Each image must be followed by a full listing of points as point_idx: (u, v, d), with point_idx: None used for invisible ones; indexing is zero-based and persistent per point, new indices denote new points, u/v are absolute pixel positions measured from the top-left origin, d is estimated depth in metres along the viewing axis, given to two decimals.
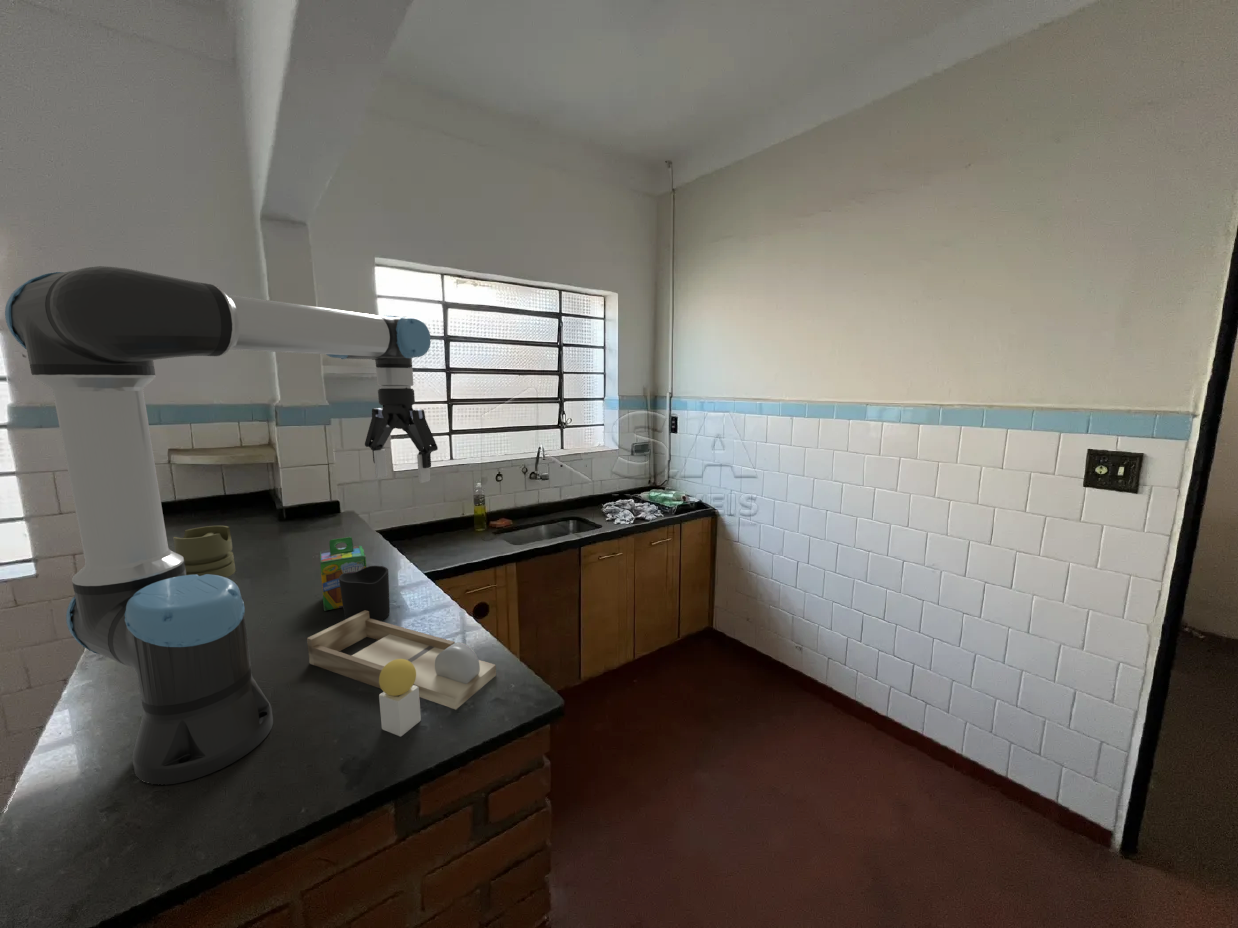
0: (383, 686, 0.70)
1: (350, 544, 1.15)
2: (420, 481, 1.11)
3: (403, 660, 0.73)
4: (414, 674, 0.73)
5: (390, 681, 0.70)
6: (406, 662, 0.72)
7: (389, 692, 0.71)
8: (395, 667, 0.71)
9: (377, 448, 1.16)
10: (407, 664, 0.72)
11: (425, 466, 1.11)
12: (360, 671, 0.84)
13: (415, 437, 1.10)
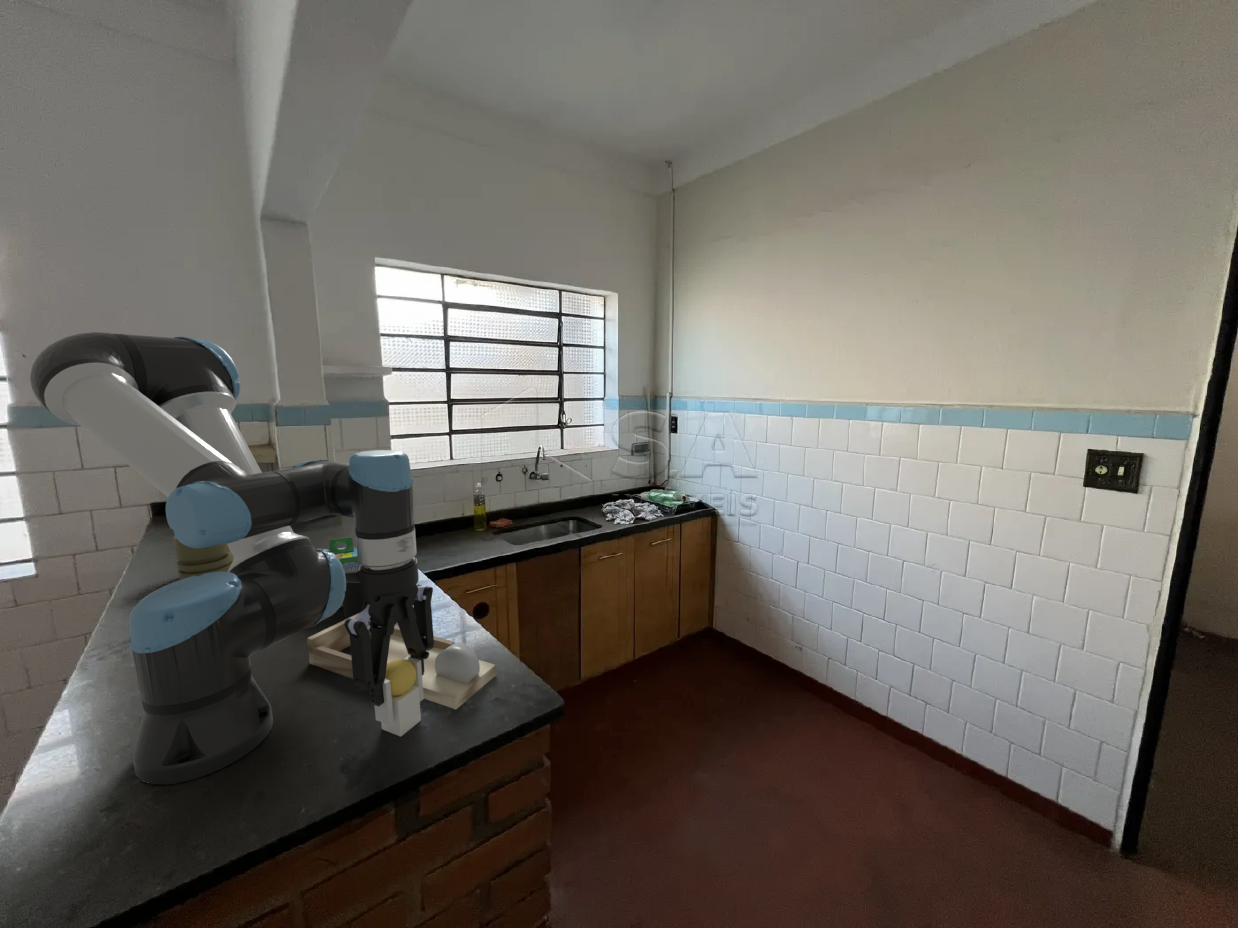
0: None
1: (350, 544, 1.15)
2: None
3: (403, 660, 0.73)
4: (414, 674, 0.73)
5: (390, 681, 0.70)
6: (406, 662, 0.72)
7: None
8: (395, 667, 0.71)
9: (412, 653, 0.75)
10: (407, 664, 0.72)
11: None
12: None
13: None
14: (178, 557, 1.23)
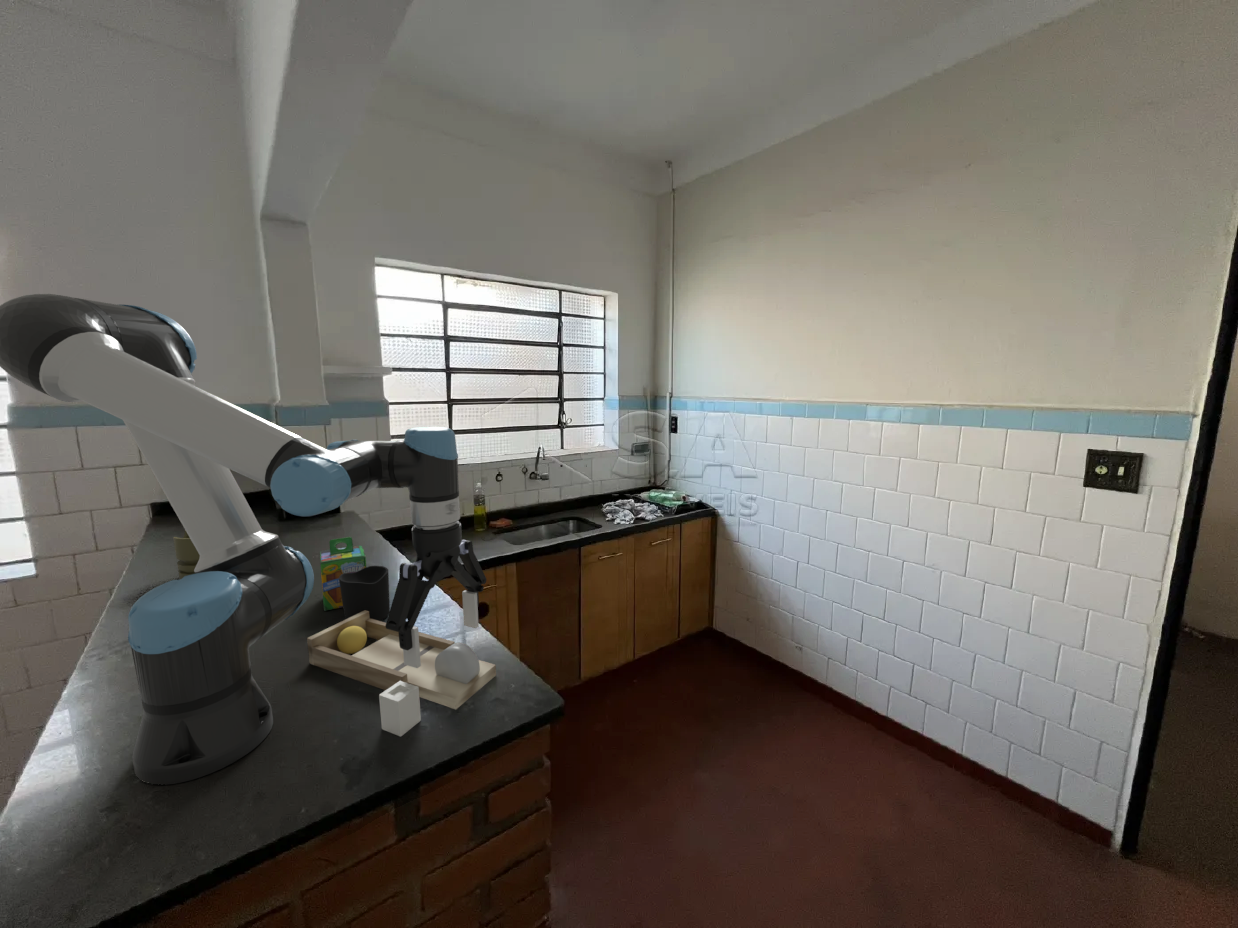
0: (339, 645, 0.91)
1: (350, 544, 1.15)
2: None
3: (364, 643, 0.93)
4: None
5: (345, 651, 0.91)
6: (363, 646, 0.93)
7: None
8: (356, 649, 0.92)
9: (469, 589, 0.89)
10: None
11: None
12: (360, 671, 0.84)
13: None
14: (178, 557, 1.23)
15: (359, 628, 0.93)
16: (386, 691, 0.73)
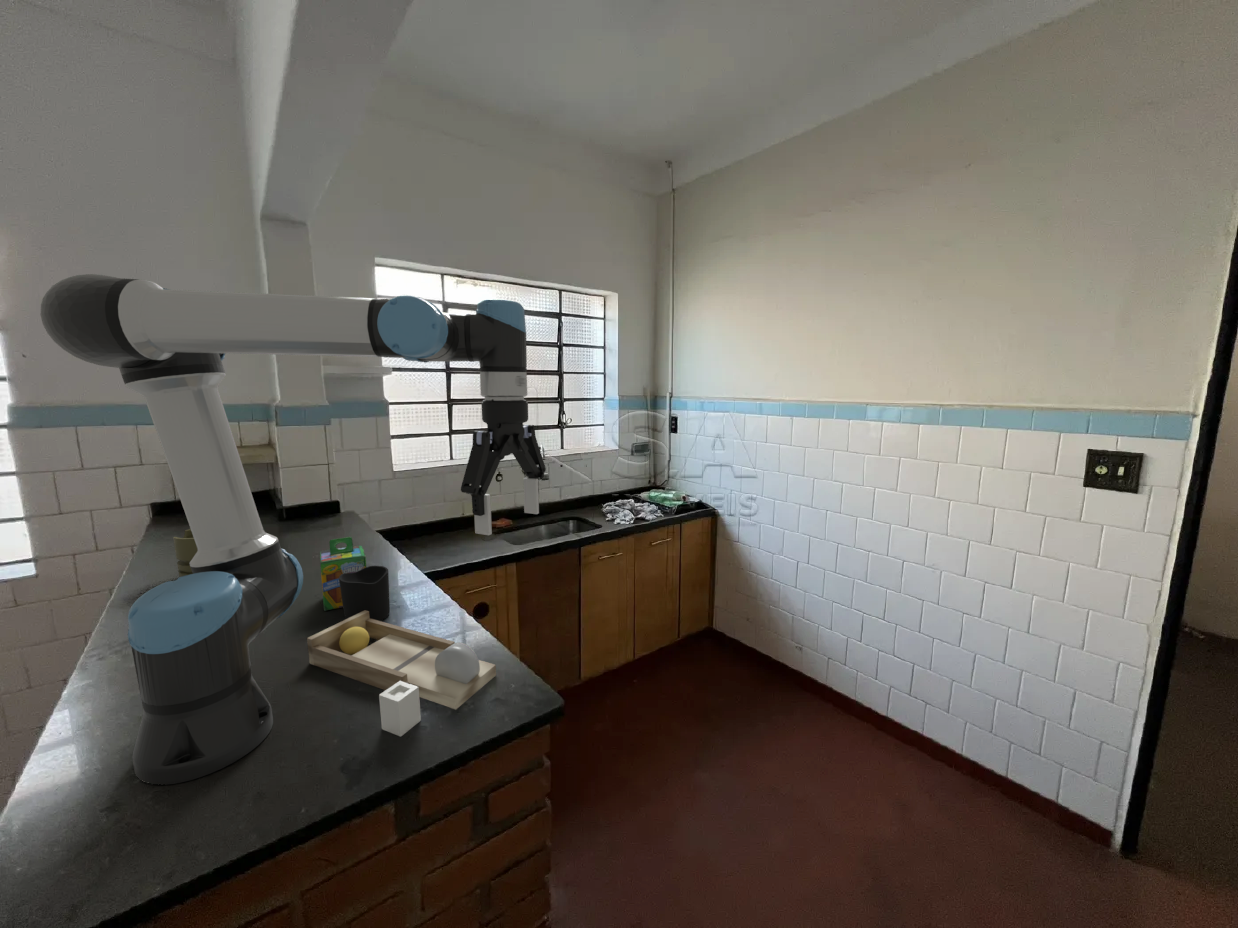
0: (342, 646, 0.91)
1: (350, 544, 1.15)
2: None
3: (366, 646, 0.93)
4: None
5: (346, 652, 0.91)
6: None
7: None
8: None
9: (530, 476, 0.90)
10: None
11: None
12: (360, 671, 0.84)
13: None
14: (178, 557, 1.23)
15: (363, 631, 0.93)
16: (386, 691, 0.73)
